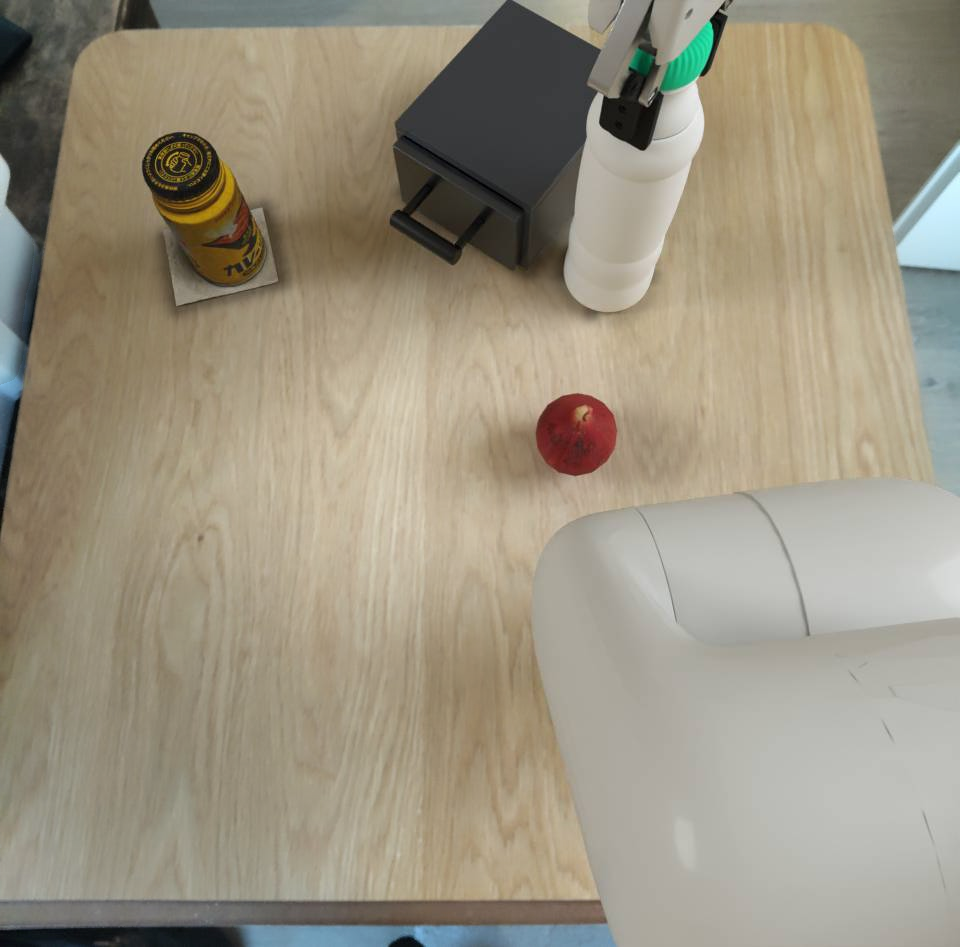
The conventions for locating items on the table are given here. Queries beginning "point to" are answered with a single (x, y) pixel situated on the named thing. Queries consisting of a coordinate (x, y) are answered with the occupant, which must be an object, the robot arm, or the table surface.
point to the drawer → (454, 208)
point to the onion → (576, 434)
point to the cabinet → (513, 116)
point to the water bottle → (634, 188)
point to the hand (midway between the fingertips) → (654, 96)
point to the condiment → (206, 221)
